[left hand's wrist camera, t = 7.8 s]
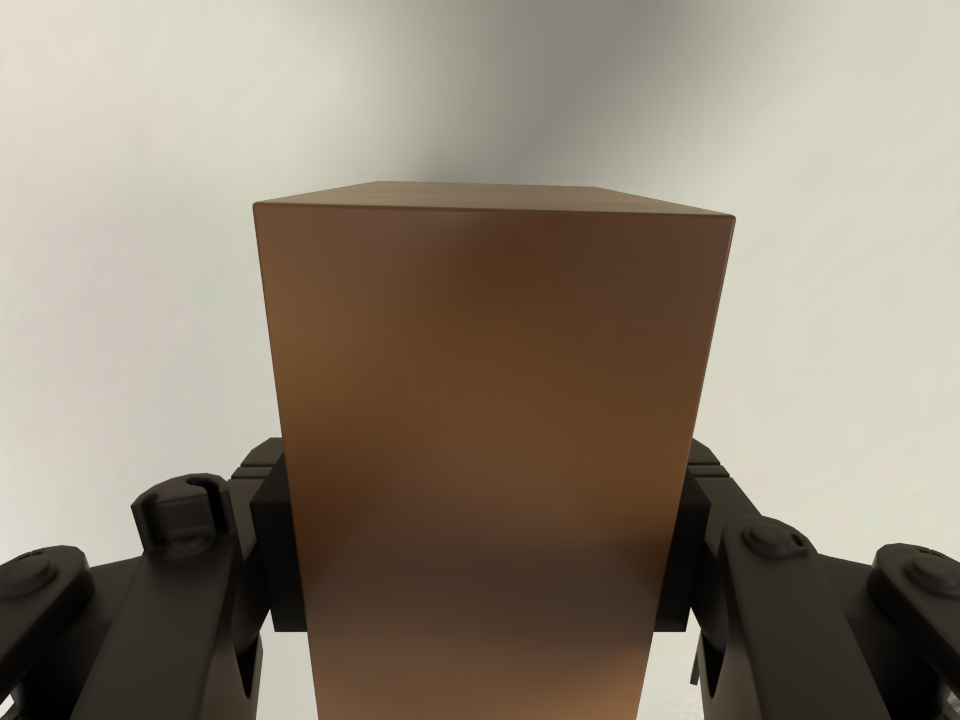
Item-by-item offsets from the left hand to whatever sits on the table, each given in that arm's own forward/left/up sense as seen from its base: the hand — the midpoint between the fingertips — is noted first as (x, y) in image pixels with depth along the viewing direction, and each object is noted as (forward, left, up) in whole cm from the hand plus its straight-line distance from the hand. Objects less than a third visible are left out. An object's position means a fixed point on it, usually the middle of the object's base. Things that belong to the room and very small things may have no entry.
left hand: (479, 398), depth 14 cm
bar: (+35, +7, -1) cm, 36 cm away
